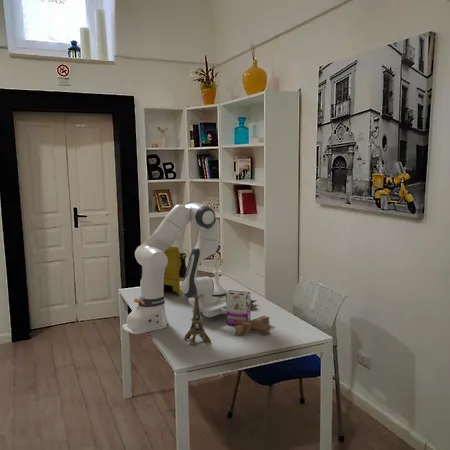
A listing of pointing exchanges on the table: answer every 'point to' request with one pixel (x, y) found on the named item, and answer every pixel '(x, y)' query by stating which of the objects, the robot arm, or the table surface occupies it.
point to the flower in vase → (217, 287)
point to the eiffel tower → (194, 329)
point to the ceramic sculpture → (252, 302)
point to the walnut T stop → (254, 326)
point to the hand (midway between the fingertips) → (230, 311)
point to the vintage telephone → (174, 269)
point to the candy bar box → (238, 307)
